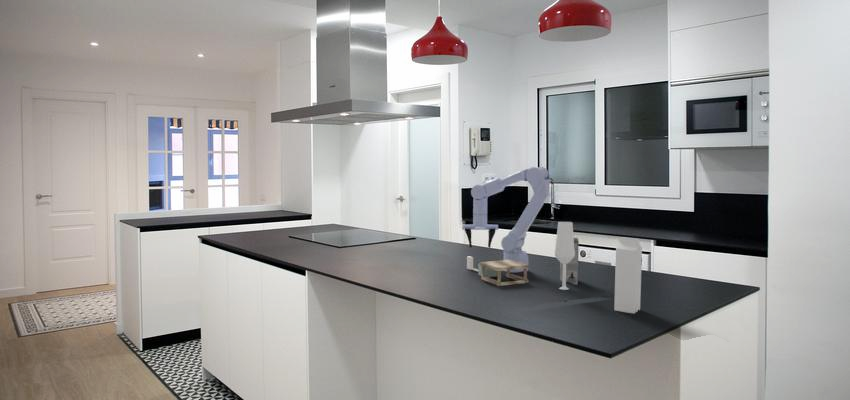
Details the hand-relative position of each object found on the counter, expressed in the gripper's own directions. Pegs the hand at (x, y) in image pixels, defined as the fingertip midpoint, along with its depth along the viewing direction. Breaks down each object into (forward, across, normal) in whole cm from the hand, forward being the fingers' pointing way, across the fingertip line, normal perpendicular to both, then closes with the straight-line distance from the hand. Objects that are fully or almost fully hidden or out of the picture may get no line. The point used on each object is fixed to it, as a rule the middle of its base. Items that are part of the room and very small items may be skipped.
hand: (479, 247), depth 234 cm
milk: (+10, +40, -62) cm, 74 cm away
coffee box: (+10, +31, -22) cm, 40 cm away
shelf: (+9, +5, -23) cm, 26 cm away
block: (+8, -1, -12) cm, 14 cm away
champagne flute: (+10, +26, -39) cm, 47 cm away
